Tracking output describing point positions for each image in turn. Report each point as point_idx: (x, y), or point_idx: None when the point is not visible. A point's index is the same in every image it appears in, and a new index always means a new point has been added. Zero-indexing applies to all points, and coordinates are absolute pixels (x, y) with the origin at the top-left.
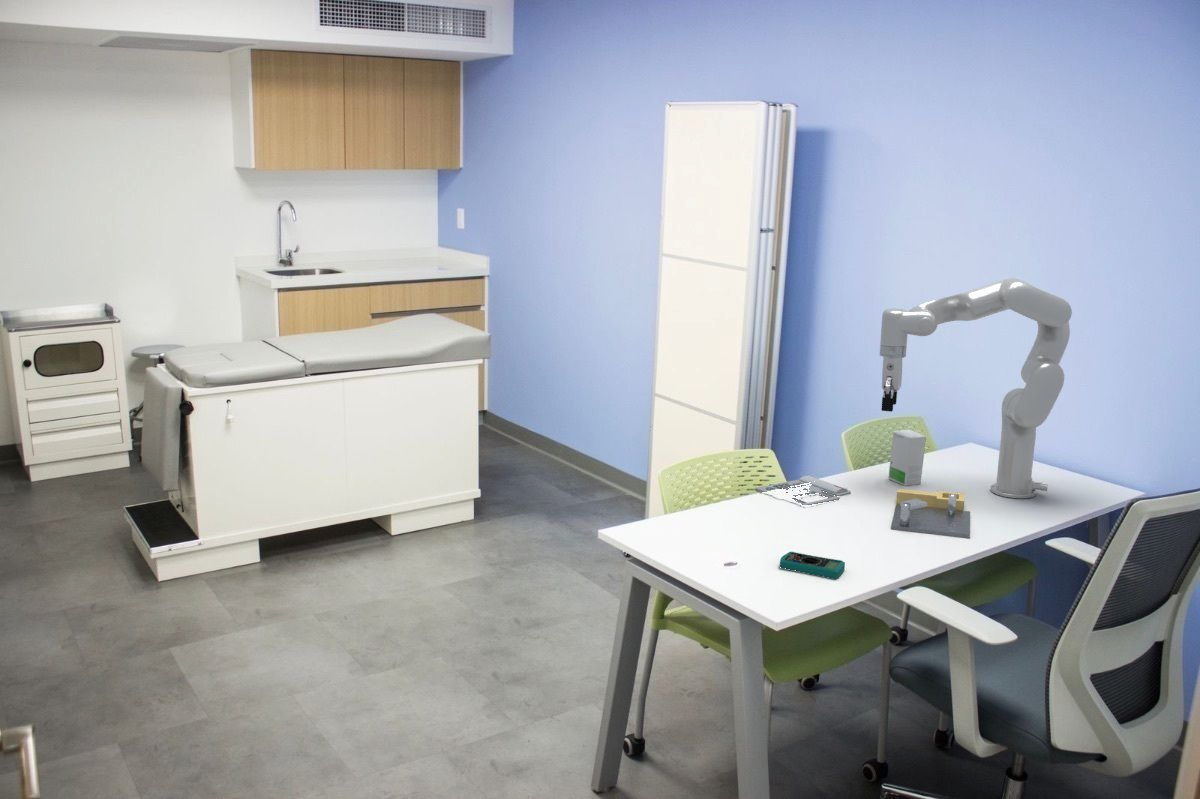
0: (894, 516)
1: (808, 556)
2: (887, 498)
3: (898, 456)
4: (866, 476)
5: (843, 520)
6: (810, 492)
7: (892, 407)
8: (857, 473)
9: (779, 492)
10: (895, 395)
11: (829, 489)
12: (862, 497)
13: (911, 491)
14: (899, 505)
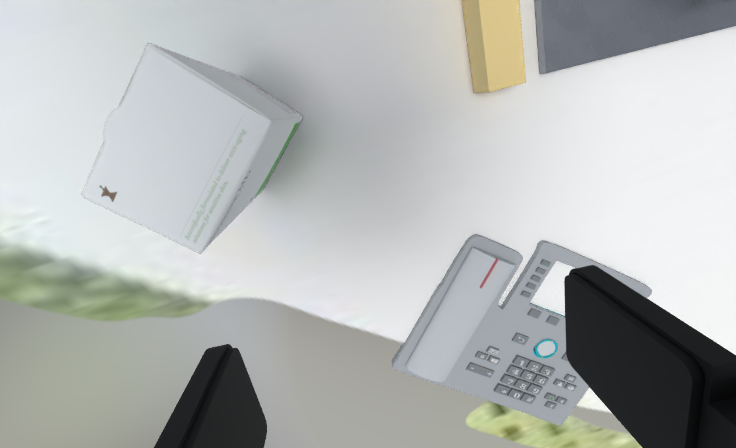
0: (683, 34)
1: None
2: (467, 126)
3: (263, 173)
4: (275, 257)
5: (718, 167)
6: (537, 318)
7: (620, 286)
8: (262, 289)
9: None
10: (203, 440)
11: (501, 288)
12: (493, 194)
13: (497, 34)
14: (564, 55)
